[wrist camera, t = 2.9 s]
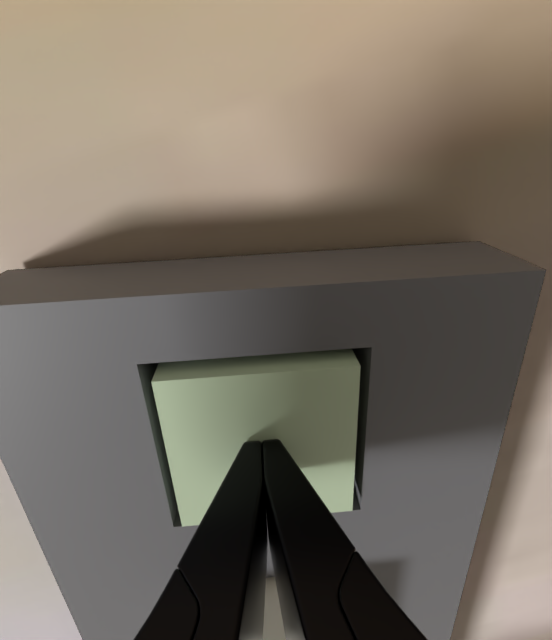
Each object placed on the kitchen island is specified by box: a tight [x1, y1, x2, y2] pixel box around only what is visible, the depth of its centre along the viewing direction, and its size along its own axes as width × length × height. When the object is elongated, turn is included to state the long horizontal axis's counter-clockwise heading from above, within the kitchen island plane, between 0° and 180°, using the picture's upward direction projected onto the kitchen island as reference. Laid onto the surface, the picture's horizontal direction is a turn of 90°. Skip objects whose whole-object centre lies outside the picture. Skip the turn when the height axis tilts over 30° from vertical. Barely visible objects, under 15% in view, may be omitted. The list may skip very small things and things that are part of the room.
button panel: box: [0, 241, 546, 640], centre depth 14 cm, size 23×12×2 cm, turn 2°
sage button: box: [151, 349, 361, 527], centre depth 10 cm, size 4×4×2 cm
